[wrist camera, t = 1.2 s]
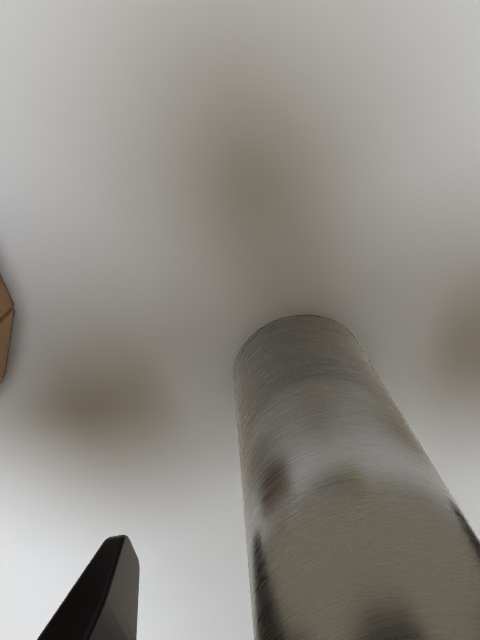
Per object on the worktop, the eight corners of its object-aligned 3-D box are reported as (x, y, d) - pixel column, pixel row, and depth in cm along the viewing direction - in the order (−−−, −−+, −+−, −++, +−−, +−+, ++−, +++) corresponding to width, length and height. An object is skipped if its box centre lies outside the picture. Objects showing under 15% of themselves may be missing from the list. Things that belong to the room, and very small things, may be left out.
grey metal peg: (365, 412, 14) (575, 833, 6) (245, 433, 14) (289, 874, 6) (360, 303, 12) (654, 696, 4) (222, 328, 12) (243, 759, 4)
